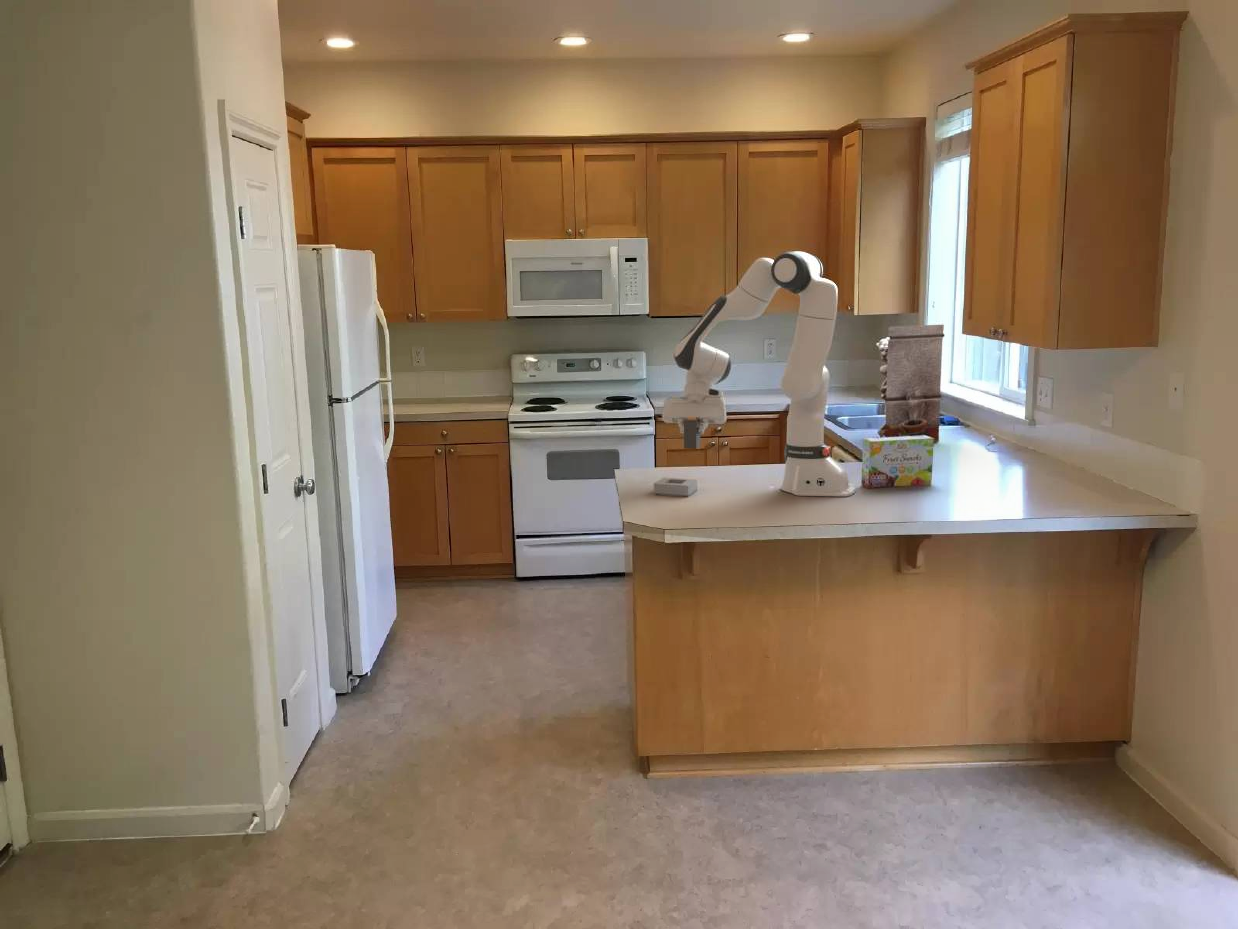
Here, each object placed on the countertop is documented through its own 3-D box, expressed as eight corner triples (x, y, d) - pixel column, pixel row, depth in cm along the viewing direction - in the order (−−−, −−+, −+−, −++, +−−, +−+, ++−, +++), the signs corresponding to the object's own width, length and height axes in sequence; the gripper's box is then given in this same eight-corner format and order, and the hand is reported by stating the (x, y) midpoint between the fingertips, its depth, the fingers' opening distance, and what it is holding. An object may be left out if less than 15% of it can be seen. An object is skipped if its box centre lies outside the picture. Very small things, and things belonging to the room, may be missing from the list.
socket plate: (697, 490, 292) (697, 479, 291) (688, 497, 284) (688, 485, 283) (663, 488, 296) (663, 477, 296) (653, 494, 288) (653, 483, 287)
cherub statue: (912, 435, 379) (917, 322, 371) (939, 442, 362) (945, 324, 353) (861, 439, 374) (864, 324, 365) (886, 447, 356) (890, 326, 347)
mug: (896, 469, 317) (898, 425, 314) (873, 463, 327) (874, 420, 324) (936, 463, 325) (938, 420, 322) (911, 457, 335) (913, 416, 332)
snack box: (868, 489, 289) (870, 440, 286) (860, 485, 294) (862, 437, 291) (932, 484, 293) (934, 437, 290) (923, 481, 298) (925, 434, 295)
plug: (700, 446, 297) (700, 416, 295) (696, 449, 293) (696, 418, 291) (688, 446, 298) (687, 416, 296) (684, 448, 295) (683, 418, 293)
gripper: (663, 391, 301) (657, 426, 294) (727, 391, 296) (722, 427, 289) (666, 403, 307) (660, 437, 299) (729, 403, 301) (724, 439, 294)
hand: (691, 432), depth 294 cm, fingers closed on plug, 4 cm apart
